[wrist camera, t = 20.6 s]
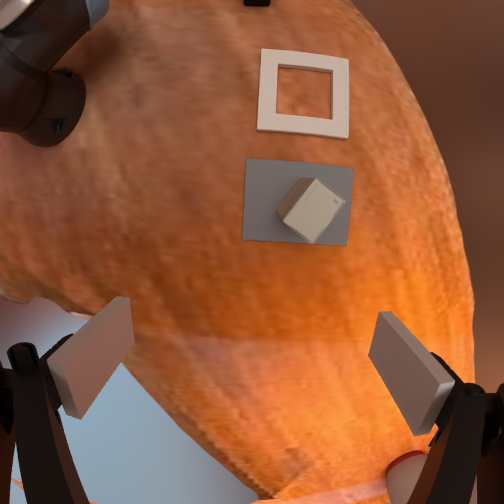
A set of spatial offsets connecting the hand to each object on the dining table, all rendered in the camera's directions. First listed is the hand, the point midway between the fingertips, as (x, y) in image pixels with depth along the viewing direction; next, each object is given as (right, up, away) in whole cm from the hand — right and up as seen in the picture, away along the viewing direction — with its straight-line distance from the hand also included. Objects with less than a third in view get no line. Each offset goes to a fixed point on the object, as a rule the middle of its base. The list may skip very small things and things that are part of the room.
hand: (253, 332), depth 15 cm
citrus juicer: (+43, -56, +44) cm, 83 cm away
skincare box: (+7, +11, +28) cm, 31 cm away
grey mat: (+7, +11, +29) cm, 32 cm away
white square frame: (+8, +28, +25) cm, 38 cm away
